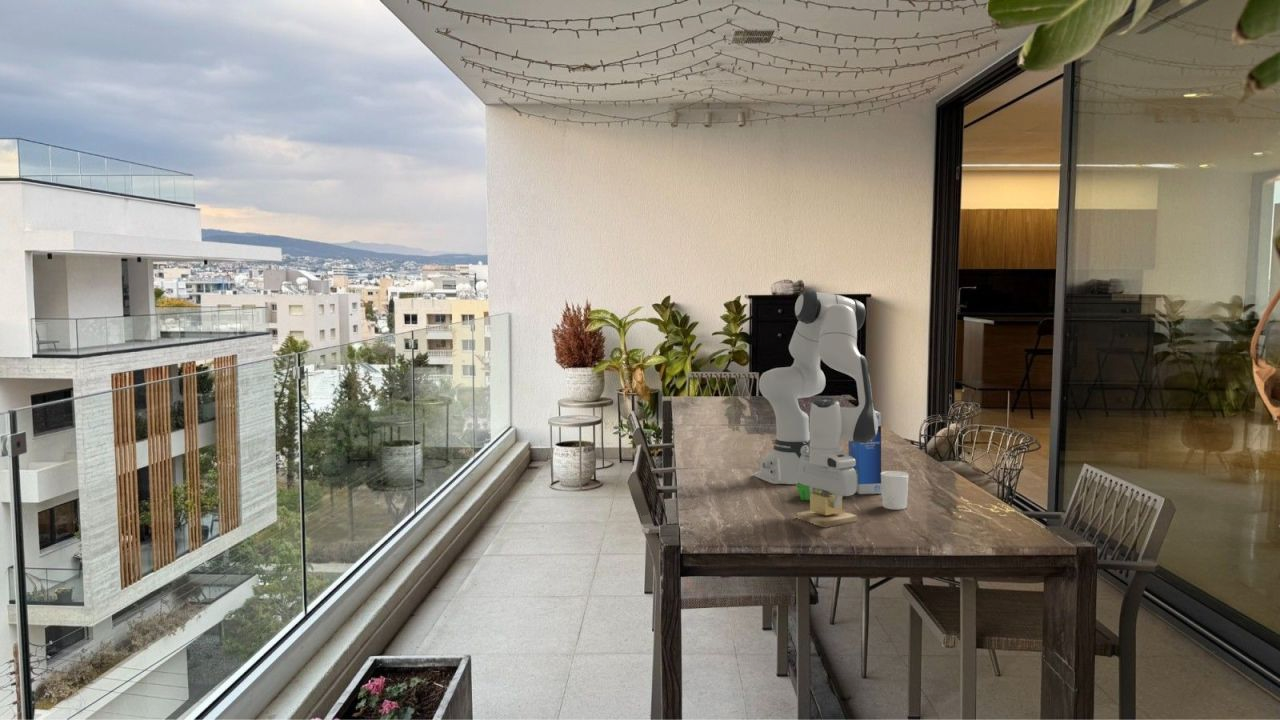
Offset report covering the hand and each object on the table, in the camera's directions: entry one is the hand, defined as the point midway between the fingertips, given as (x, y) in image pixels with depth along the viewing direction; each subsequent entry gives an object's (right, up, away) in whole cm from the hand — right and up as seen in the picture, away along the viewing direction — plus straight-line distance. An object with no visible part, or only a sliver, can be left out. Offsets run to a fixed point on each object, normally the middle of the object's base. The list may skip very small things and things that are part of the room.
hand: (826, 505), depth 234 cm
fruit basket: (+2, -2, +26) cm, 26 cm away
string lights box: (+20, -1, +35) cm, 40 cm away
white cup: (+23, -3, +12) cm, 26 cm away
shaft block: (0, -4, 0) cm, 4 cm away
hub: (0, -2, 0) cm, 2 cm away
